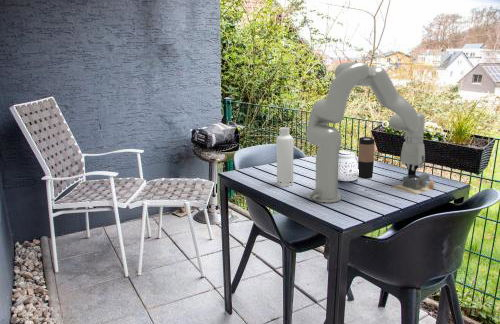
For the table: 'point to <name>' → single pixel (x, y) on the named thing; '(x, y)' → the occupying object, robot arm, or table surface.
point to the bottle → (284, 157)
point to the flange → (415, 181)
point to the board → (409, 190)
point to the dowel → (431, 184)
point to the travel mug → (366, 157)
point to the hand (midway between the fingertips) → (411, 177)
